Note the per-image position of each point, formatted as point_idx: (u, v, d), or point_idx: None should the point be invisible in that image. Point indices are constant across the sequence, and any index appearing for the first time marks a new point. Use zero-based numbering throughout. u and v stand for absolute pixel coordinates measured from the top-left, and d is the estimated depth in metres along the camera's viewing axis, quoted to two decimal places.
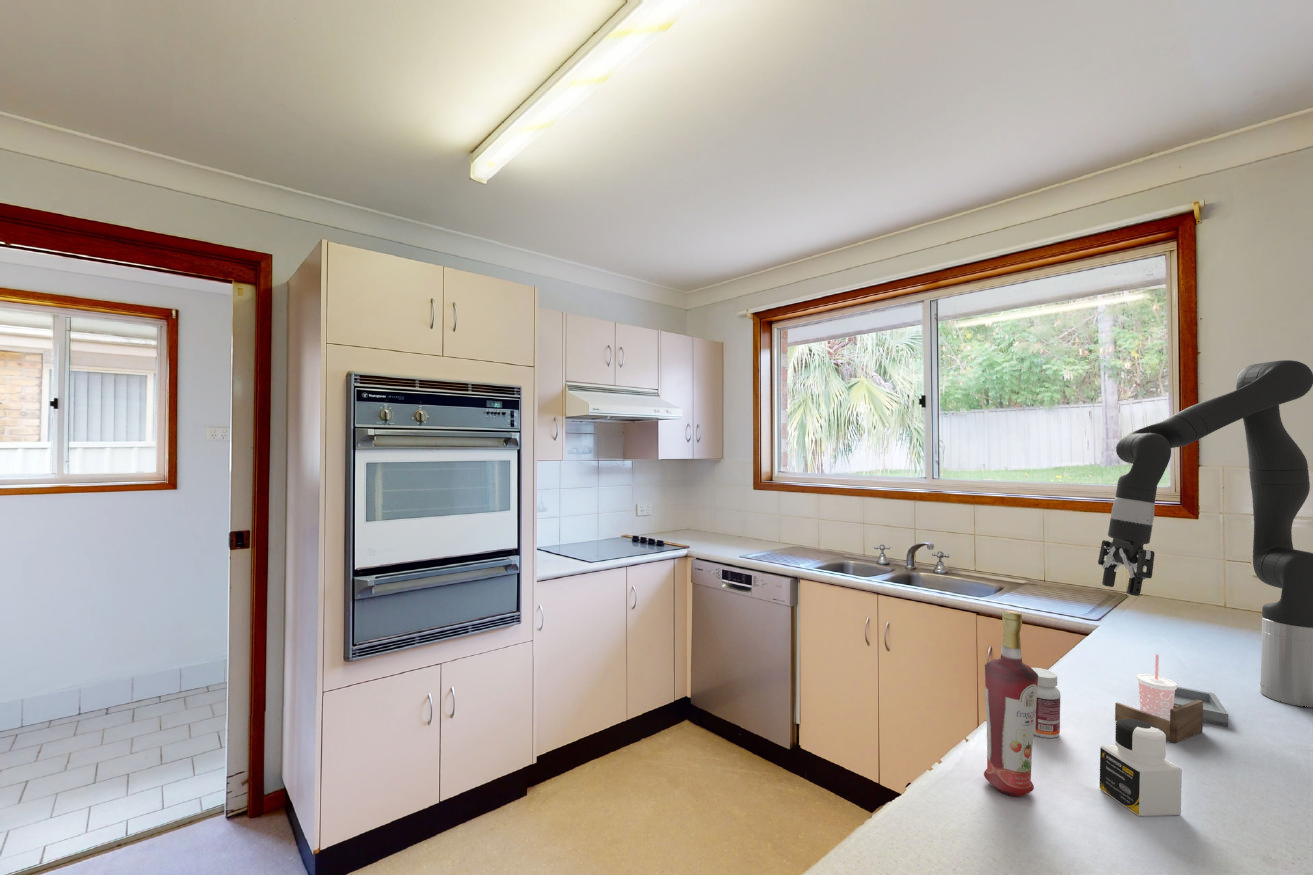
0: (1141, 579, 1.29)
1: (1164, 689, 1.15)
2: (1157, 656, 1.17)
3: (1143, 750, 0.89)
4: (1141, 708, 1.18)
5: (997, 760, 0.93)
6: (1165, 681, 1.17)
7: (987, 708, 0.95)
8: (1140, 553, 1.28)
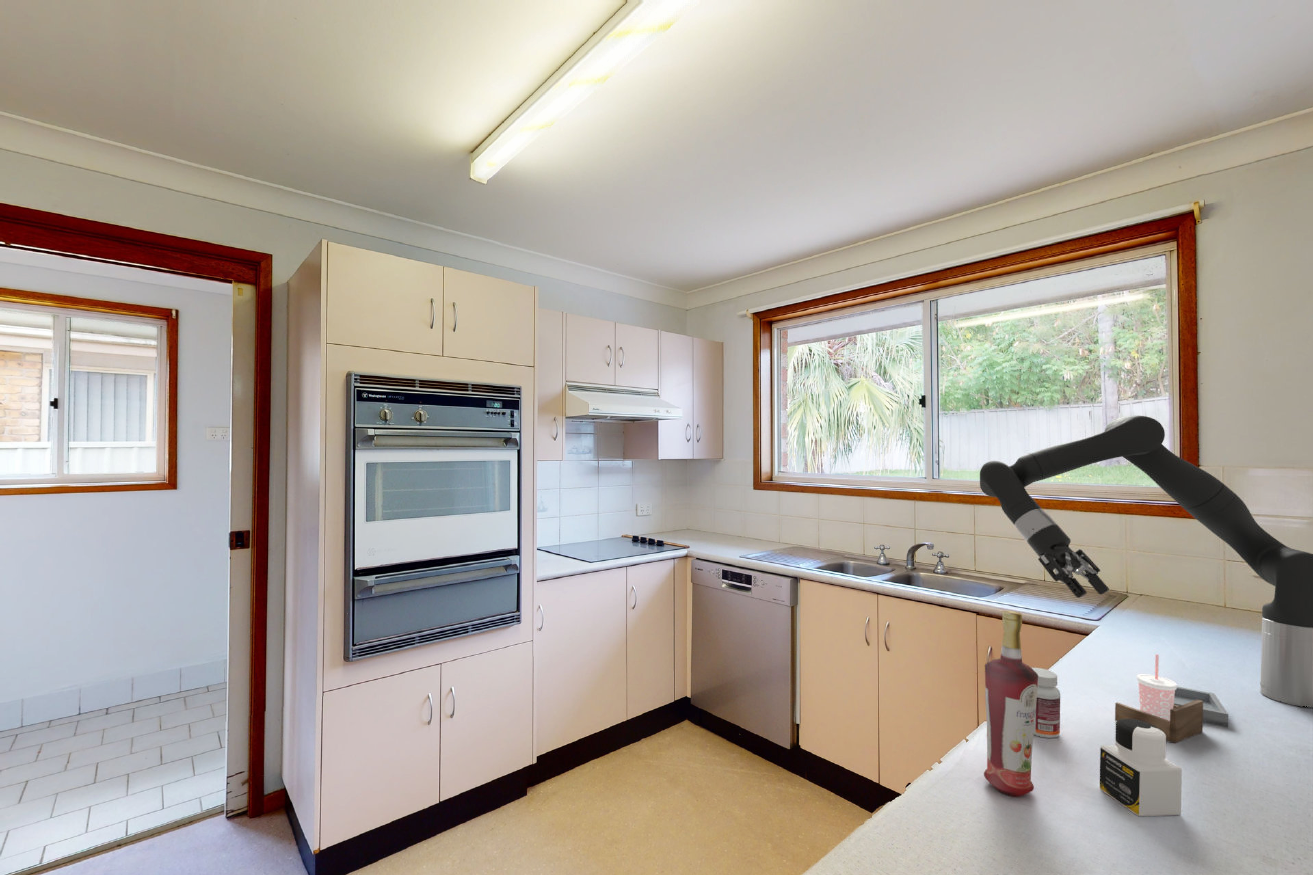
0: (1067, 579, 1.28)
1: (1164, 689, 1.15)
2: (1157, 656, 1.17)
3: (1143, 750, 0.89)
4: (1141, 708, 1.18)
5: (997, 760, 0.93)
6: (1165, 681, 1.17)
7: (986, 708, 0.95)
8: None
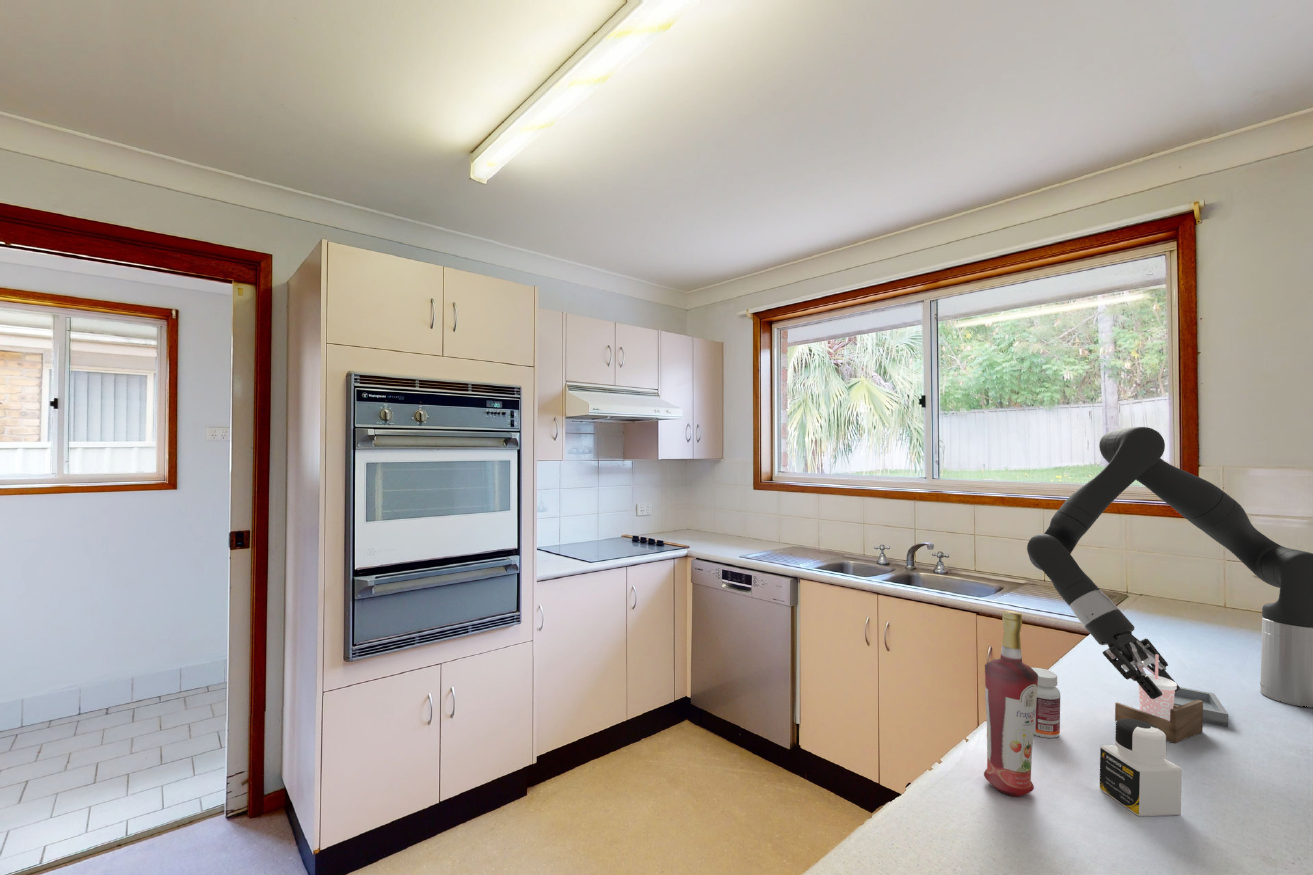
0: (1140, 678, 1.16)
1: (1164, 689, 1.15)
2: (1157, 656, 1.17)
3: (1143, 750, 0.89)
4: (1141, 708, 1.18)
5: (997, 760, 0.93)
6: (1165, 681, 1.17)
7: (986, 708, 0.95)
8: None
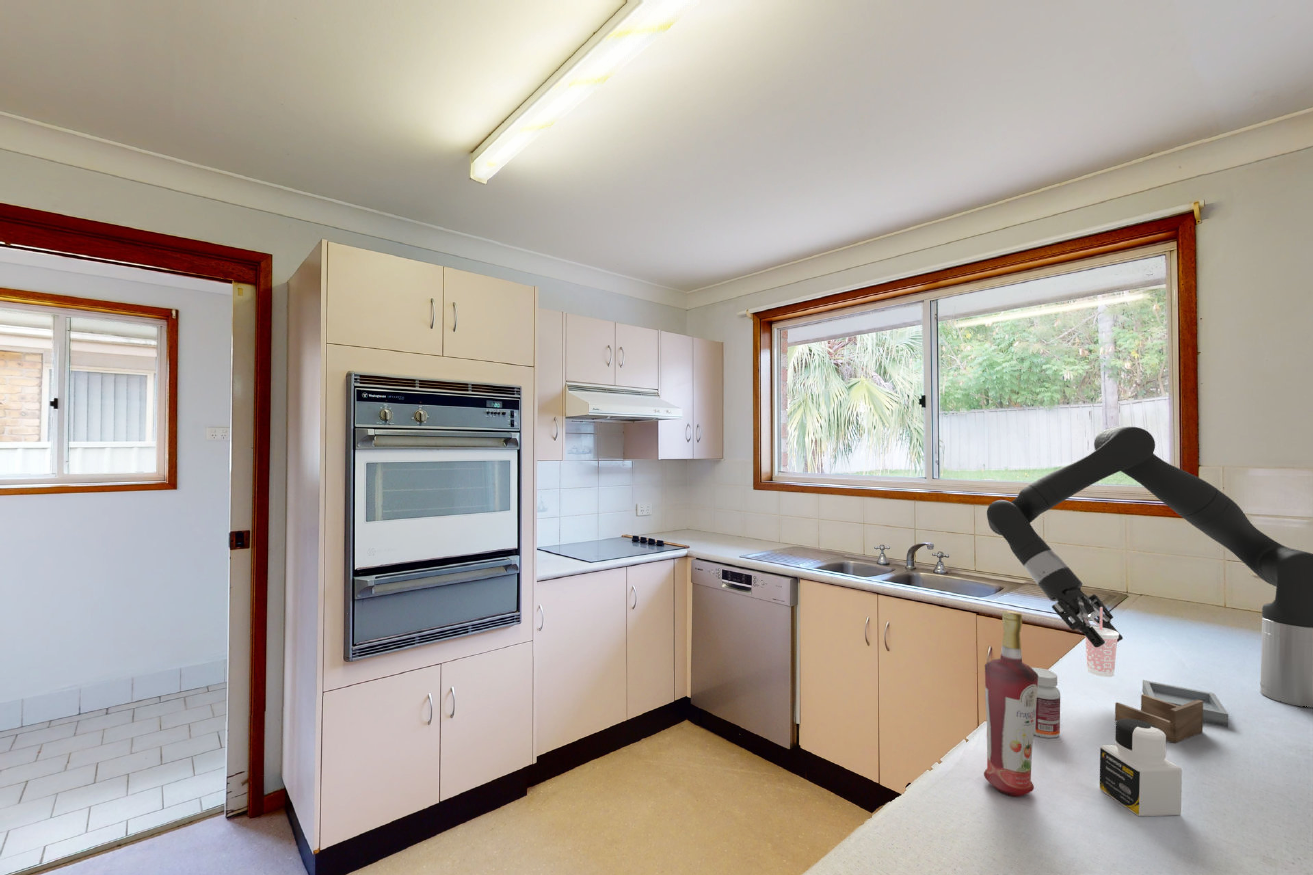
0: (1085, 629, 1.25)
1: (1106, 638, 1.24)
2: (1101, 608, 1.26)
3: (1143, 750, 0.89)
4: (1087, 657, 1.27)
5: (997, 760, 0.93)
6: (1109, 631, 1.26)
7: (986, 708, 0.95)
8: None
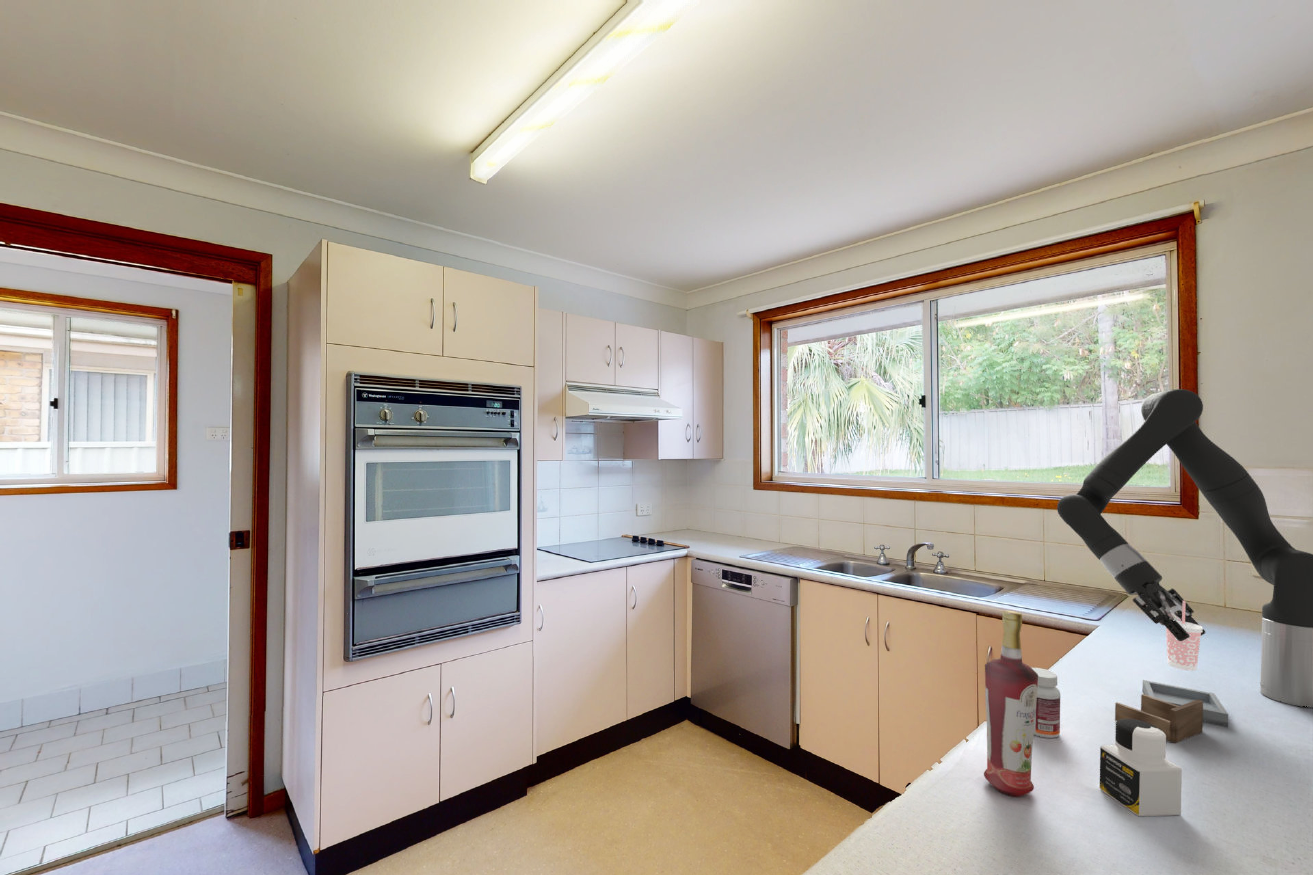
0: (1169, 622, 1.24)
1: (1190, 632, 1.23)
2: (1184, 602, 1.26)
3: (1143, 750, 0.89)
4: (1168, 651, 1.27)
5: (997, 760, 0.93)
6: (1191, 625, 1.26)
7: (987, 708, 0.95)
8: None
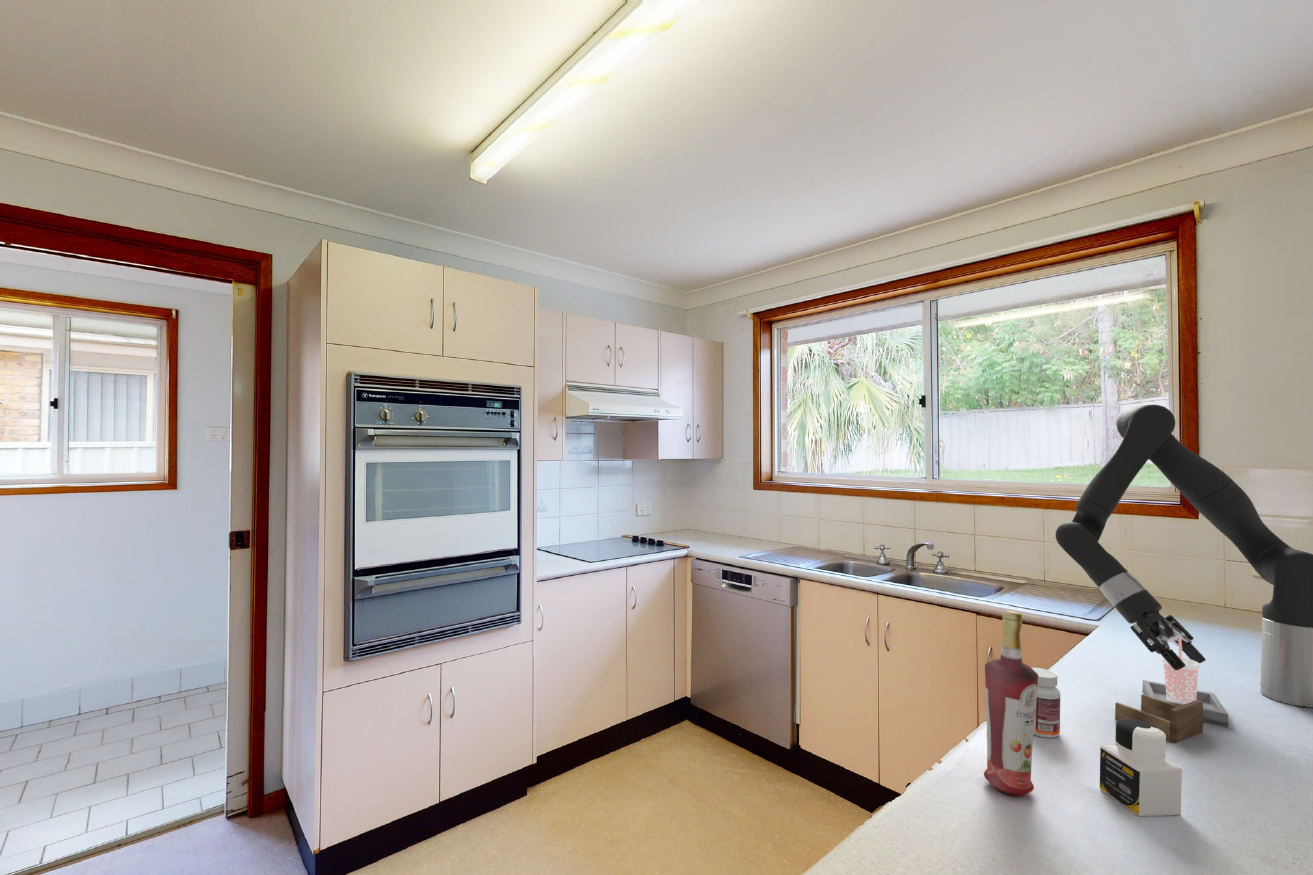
0: (1164, 651, 1.24)
1: (1188, 669, 1.23)
2: (1180, 638, 1.26)
3: (1143, 750, 0.89)
4: (1167, 687, 1.27)
5: (997, 760, 0.93)
6: (1188, 661, 1.26)
7: (987, 708, 0.95)
8: None
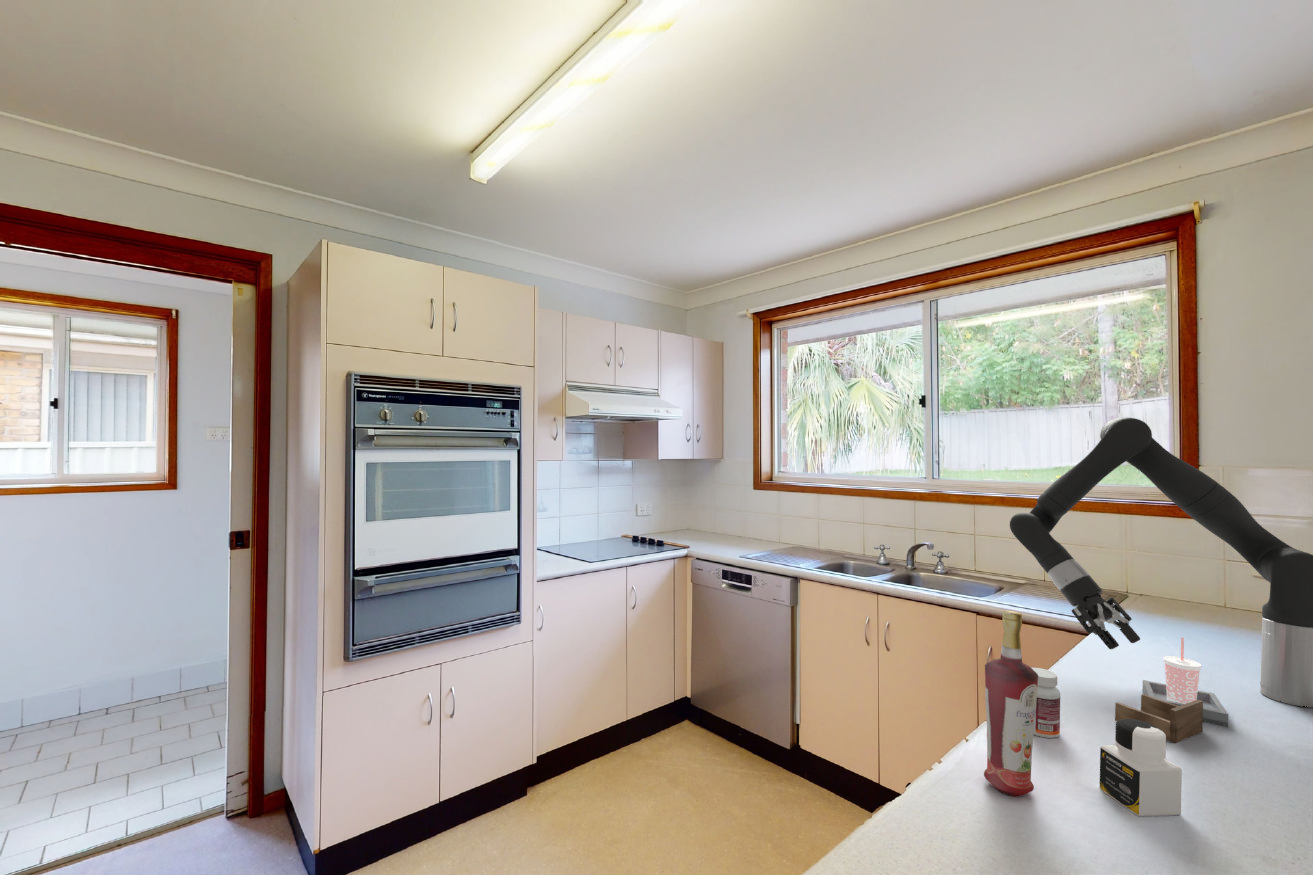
0: (1100, 632, 1.35)
1: (1189, 669, 1.23)
2: (1182, 639, 1.26)
3: (1143, 750, 0.89)
4: (1167, 687, 1.27)
5: (997, 760, 0.93)
6: (1190, 662, 1.26)
7: (986, 708, 0.95)
8: None
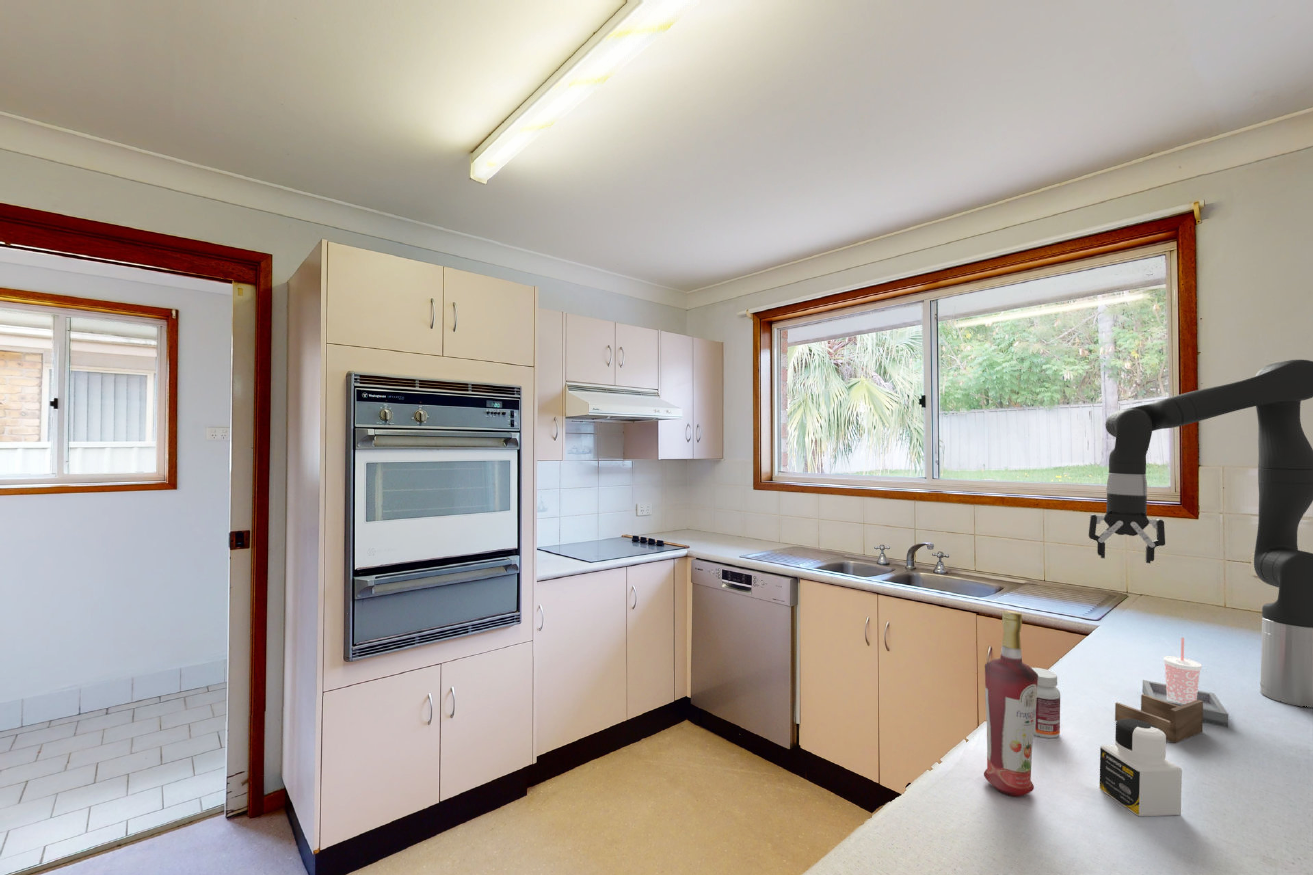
0: (1097, 541, 1.44)
1: (1189, 669, 1.23)
2: (1183, 639, 1.26)
3: (1143, 750, 0.89)
4: (1167, 687, 1.27)
5: (997, 760, 0.93)
6: (1190, 662, 1.26)
7: (986, 708, 0.95)
8: None
